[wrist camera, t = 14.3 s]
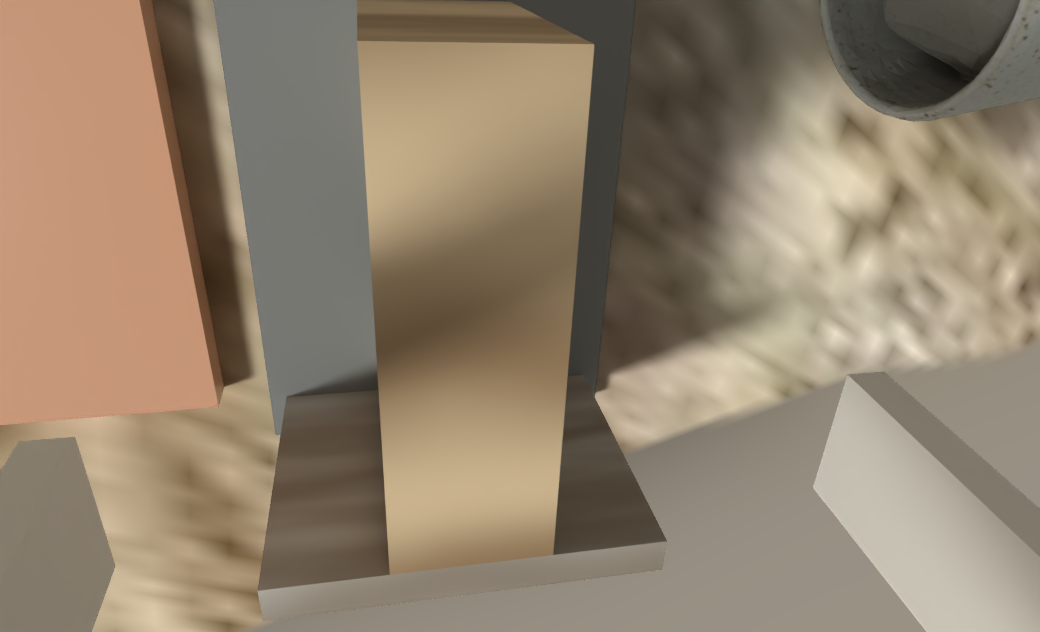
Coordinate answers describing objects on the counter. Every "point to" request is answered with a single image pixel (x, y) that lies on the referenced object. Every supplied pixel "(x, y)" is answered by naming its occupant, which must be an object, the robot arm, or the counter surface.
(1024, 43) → the ceramic mug
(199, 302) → the terracotta tile
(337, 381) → the slate mat
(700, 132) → the counter surface
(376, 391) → the tan rectangular block
